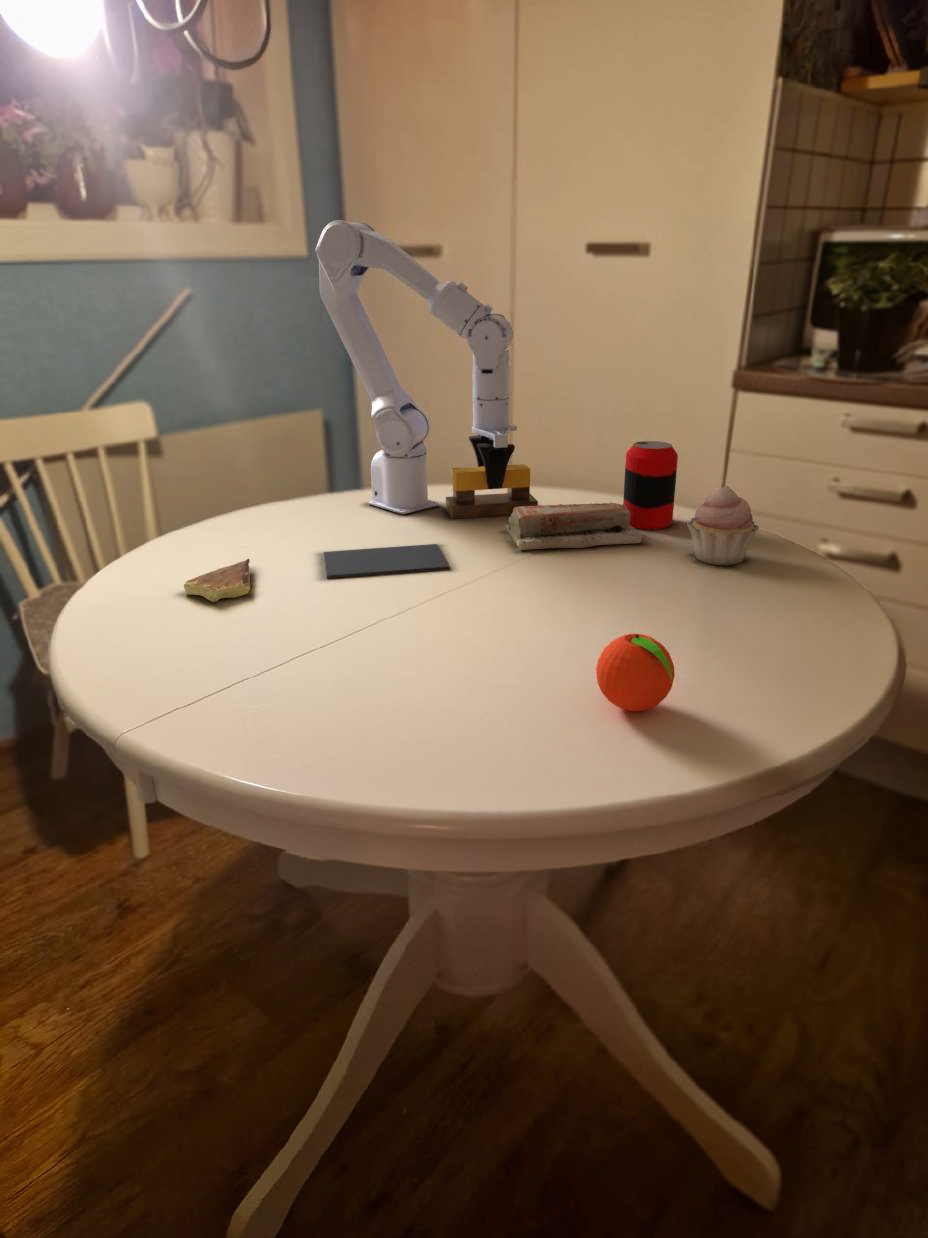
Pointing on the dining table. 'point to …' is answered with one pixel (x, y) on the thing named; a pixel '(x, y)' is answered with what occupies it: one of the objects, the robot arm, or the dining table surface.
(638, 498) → the soda can
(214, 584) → the shard
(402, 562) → the mat
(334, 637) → the dining table surface
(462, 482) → the bar
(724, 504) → the cupcake
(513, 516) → the packaged product
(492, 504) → the brown two-peg stand
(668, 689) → the clementine
